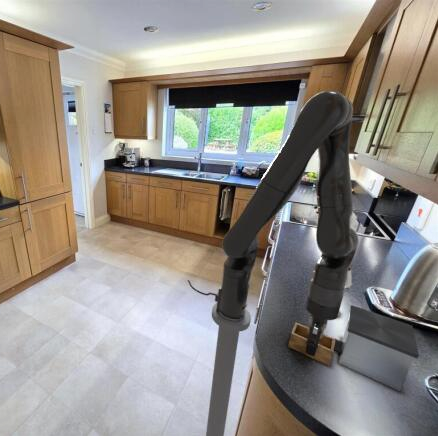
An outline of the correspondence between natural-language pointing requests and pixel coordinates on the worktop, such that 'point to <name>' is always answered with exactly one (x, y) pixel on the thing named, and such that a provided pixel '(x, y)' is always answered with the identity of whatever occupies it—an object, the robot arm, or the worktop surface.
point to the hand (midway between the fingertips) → (312, 344)
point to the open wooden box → (325, 343)
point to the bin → (377, 347)
